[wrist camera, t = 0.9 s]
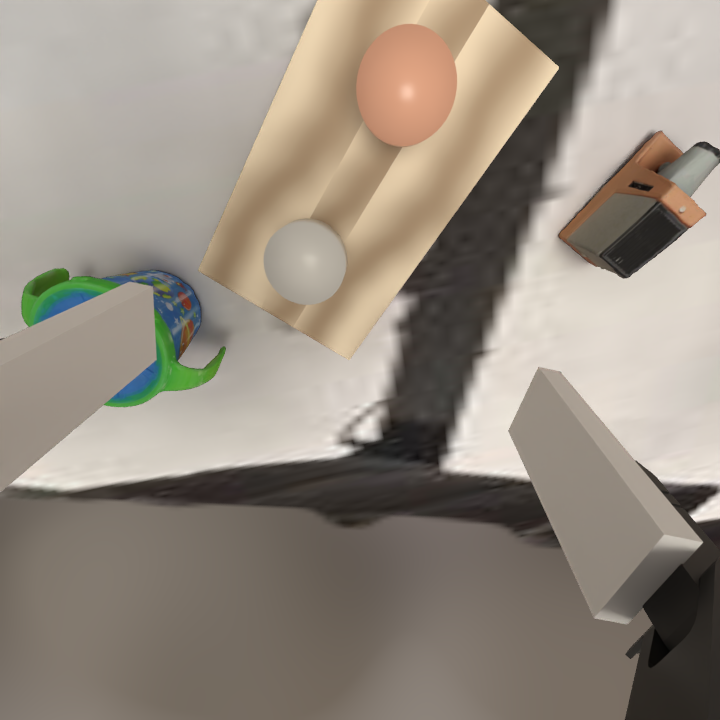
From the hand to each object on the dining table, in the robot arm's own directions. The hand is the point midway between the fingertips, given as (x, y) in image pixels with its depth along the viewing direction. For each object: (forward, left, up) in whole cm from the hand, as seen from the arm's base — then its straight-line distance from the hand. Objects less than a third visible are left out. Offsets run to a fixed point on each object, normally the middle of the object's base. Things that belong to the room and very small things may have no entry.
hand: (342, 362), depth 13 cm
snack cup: (-13, -16, -24) cm, 32 cm away
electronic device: (+16, +14, -24) cm, 32 cm away
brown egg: (-3, +9, -19) cm, 22 cm away
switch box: (-3, +4, -24) cm, 24 cm away
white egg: (-3, -2, -19) cm, 19 cm away
